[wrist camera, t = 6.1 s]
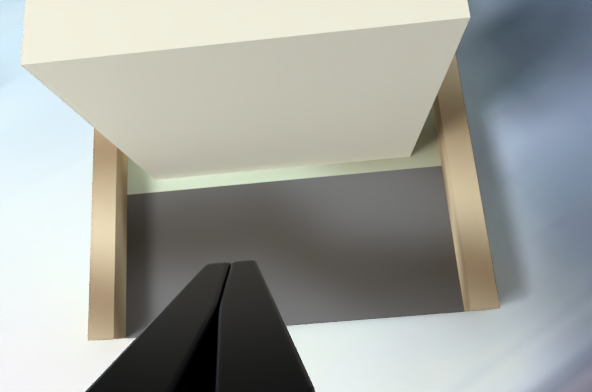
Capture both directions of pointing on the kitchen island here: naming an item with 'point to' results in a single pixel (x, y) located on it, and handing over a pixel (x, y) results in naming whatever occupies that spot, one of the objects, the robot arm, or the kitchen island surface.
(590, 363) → the kitchen island surface
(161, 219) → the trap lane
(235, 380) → the robot arm
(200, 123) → the block
